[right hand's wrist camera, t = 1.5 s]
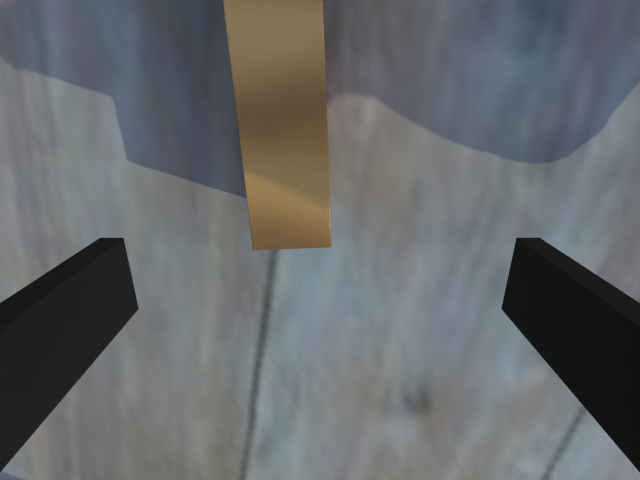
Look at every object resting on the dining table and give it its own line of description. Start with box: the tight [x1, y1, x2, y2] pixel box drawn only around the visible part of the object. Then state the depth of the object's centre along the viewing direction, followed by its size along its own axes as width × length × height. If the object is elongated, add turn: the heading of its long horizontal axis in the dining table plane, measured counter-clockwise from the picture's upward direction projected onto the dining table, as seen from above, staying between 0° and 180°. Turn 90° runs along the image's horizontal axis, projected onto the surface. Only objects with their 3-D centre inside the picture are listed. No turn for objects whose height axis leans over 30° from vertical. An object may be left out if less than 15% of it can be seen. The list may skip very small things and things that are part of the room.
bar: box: [223, 0, 332, 250], centre depth 20 cm, size 25×4×9 cm, turn 3°
